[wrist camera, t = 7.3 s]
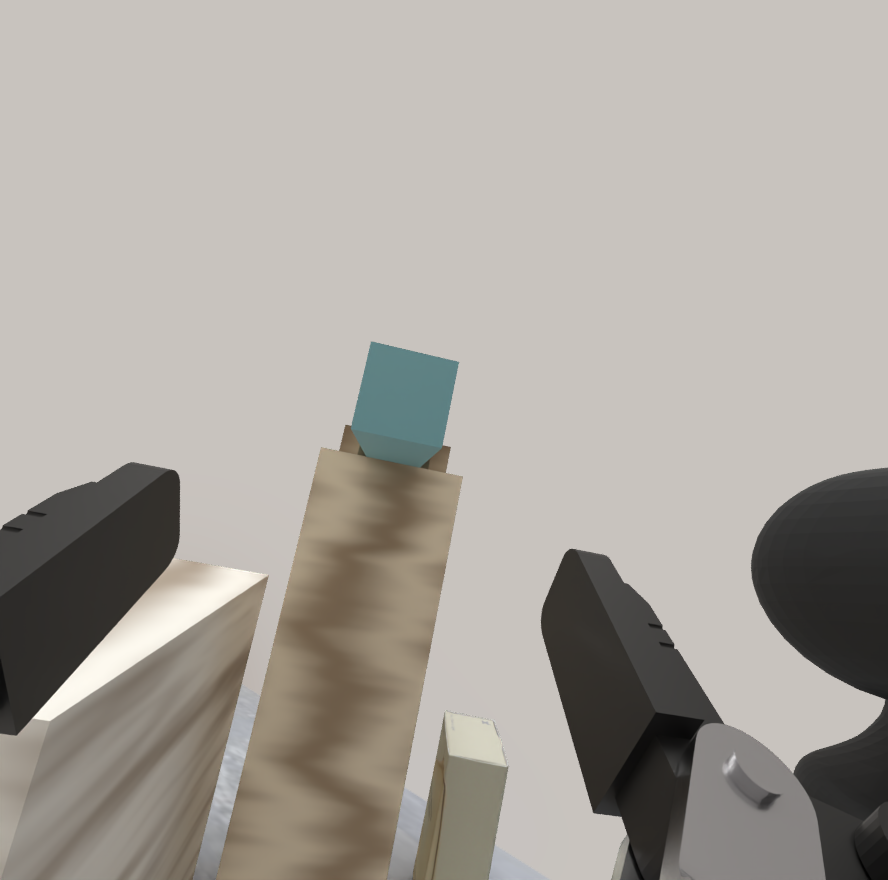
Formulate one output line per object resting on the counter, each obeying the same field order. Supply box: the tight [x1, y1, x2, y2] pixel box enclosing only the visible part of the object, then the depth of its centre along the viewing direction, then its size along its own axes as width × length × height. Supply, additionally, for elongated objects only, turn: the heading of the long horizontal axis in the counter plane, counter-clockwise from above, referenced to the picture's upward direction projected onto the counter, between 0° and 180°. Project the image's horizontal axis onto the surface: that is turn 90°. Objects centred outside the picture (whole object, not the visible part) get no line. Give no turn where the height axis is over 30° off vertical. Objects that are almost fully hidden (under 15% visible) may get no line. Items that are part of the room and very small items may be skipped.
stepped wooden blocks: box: [0, 425, 463, 880], centre depth 22 cm, size 19×25×32 cm
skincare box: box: [413, 710, 508, 880], centre depth 31 cm, size 6×4×12 cm
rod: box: [351, 342, 459, 468], centre depth 27 cm, size 3×26×3 cm, turn 7°
